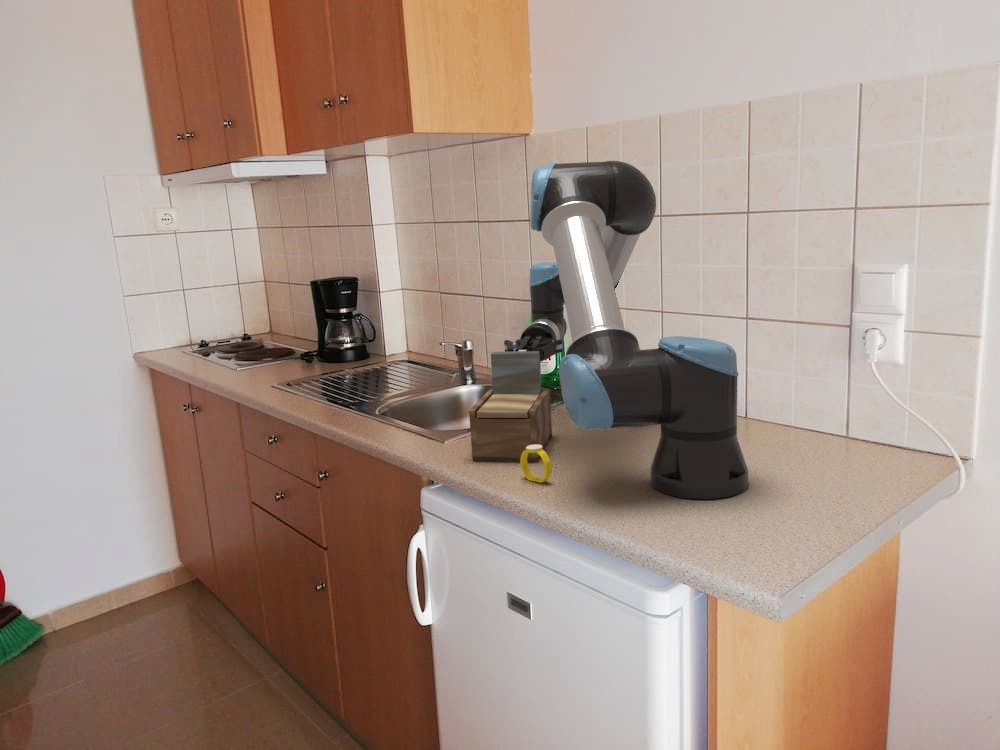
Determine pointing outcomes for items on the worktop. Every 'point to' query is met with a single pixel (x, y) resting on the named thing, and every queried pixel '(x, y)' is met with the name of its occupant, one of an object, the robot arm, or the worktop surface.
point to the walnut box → (510, 432)
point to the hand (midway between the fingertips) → (516, 363)
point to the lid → (513, 384)
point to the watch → (545, 458)
